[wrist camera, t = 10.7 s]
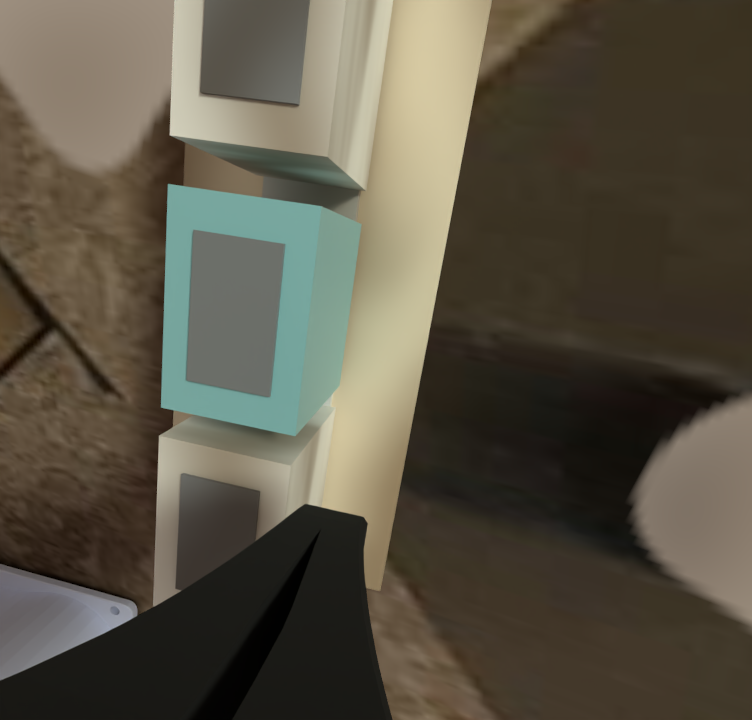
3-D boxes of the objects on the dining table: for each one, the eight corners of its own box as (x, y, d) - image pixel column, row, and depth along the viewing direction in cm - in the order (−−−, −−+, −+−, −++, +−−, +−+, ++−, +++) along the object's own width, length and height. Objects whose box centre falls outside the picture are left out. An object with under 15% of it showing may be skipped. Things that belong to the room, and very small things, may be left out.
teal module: (241, 366, 17) (158, 408, 12) (254, 208, 16) (165, 182, 11) (339, 385, 17) (293, 437, 12) (361, 224, 15) (320, 205, 10)
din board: (180, 524, 21) (68, 634, 15) (211, -73, 15) (47, -308, 9) (383, 575, 20) (353, 718, 13) (502, -52, 14) (546, -308, 8)
